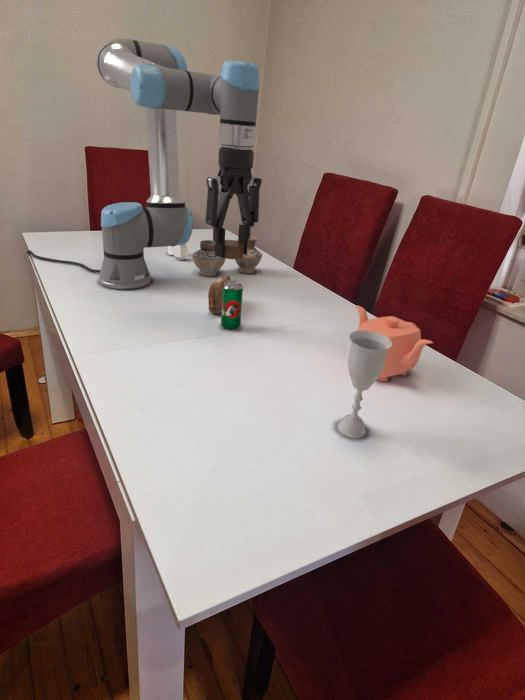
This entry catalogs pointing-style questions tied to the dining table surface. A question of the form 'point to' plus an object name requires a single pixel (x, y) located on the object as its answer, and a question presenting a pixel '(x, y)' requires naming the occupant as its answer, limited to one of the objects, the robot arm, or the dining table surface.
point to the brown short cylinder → (233, 249)
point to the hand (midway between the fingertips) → (230, 254)
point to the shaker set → (178, 251)
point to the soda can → (231, 304)
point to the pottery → (212, 263)
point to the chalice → (363, 374)
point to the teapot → (396, 342)
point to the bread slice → (216, 294)
